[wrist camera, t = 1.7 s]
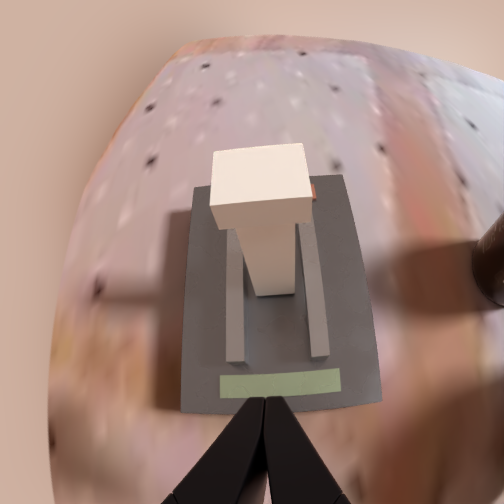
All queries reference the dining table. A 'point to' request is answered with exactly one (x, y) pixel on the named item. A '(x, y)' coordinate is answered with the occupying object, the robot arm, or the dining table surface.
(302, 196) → the handle
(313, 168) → the dining table surface
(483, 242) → the supplement bottle
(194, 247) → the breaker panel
